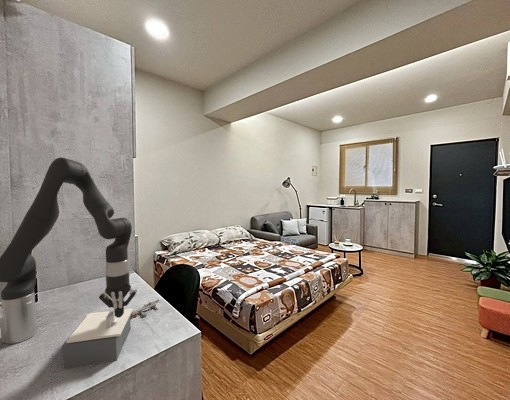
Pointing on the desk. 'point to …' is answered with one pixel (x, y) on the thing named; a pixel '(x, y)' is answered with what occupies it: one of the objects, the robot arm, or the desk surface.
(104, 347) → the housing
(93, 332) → the lid
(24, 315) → the robot arm
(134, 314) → the clamp
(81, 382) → the desk surface
